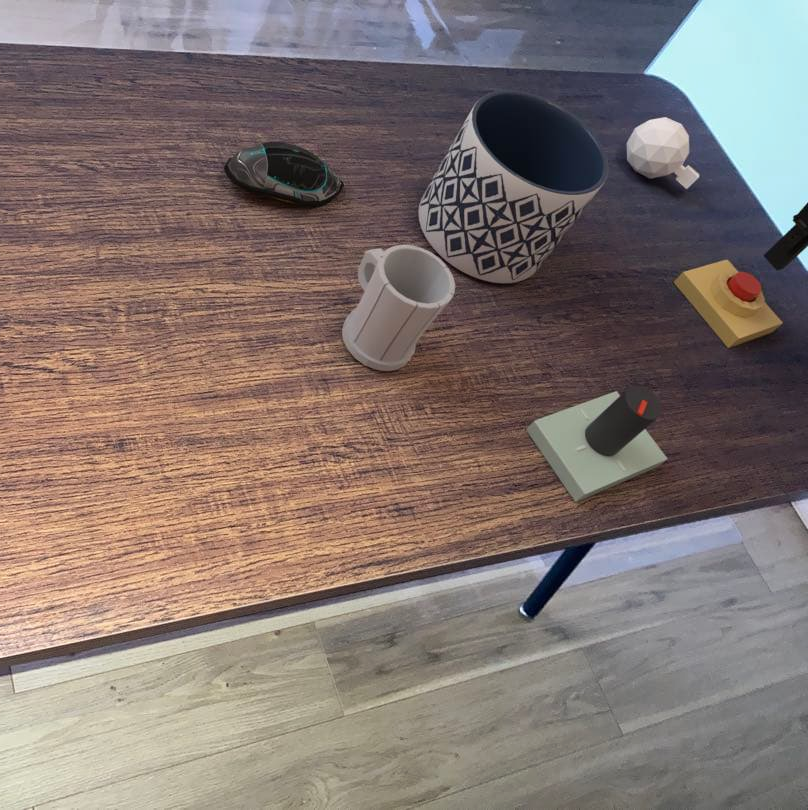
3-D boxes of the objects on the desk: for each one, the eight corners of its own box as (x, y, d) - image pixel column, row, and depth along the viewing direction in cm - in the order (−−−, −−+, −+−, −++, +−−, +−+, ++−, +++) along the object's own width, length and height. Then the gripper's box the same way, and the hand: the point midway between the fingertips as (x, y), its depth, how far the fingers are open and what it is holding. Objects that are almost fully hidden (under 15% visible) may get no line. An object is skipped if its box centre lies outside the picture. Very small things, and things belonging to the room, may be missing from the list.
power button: (758, 299, 125) (767, 291, 124) (740, 304, 123) (749, 296, 122) (739, 277, 127) (748, 269, 125) (721, 282, 125) (730, 274, 124)
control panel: (607, 399, 111) (617, 389, 110) (657, 467, 108) (668, 458, 106) (525, 429, 105) (534, 419, 103) (575, 502, 101) (586, 493, 99)
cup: (316, 342, 104) (353, 273, 94) (343, 292, 109) (380, 223, 99) (398, 386, 103) (442, 321, 94) (421, 334, 109) (465, 268, 99)
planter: (389, 208, 120) (442, 108, 107) (475, 171, 129) (533, 76, 116) (482, 305, 114) (549, 213, 101) (565, 259, 124) (636, 170, 111)
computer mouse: (351, 212, 117) (367, 179, 113) (226, 208, 111) (238, 173, 107) (333, 164, 122) (348, 131, 117) (213, 158, 116) (223, 123, 111)
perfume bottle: (608, 156, 138) (668, 209, 137) (655, 107, 132) (718, 162, 131) (616, 146, 145) (672, 197, 144) (661, 100, 139) (720, 152, 138)
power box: (771, 332, 128) (792, 315, 125) (728, 348, 123) (748, 330, 120) (717, 269, 133) (735, 250, 129) (673, 282, 128) (691, 263, 125)
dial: (591, 416, 106) (633, 376, 100) (623, 438, 106) (667, 399, 99) (580, 441, 104) (622, 402, 97) (613, 463, 103) (658, 425, 96)
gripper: (928, 92, 106) (783, 233, 125) (867, 103, 100) (724, 249, 118) (977, 136, 103) (821, 274, 122) (917, 150, 97) (762, 292, 115)
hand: (773, 261), depth 120 cm, fingers closed
